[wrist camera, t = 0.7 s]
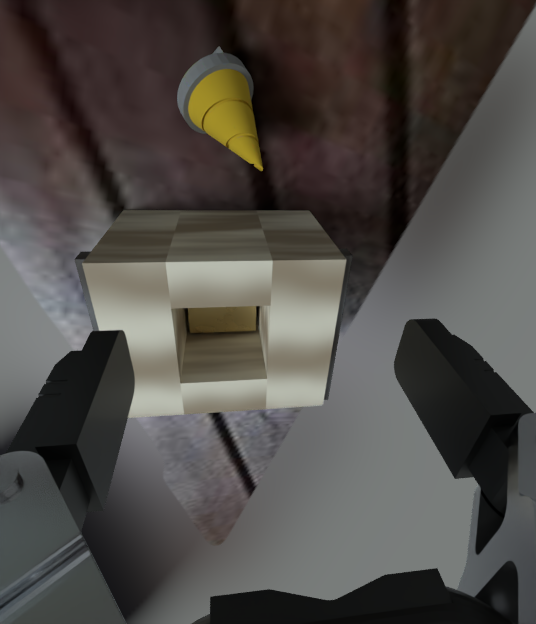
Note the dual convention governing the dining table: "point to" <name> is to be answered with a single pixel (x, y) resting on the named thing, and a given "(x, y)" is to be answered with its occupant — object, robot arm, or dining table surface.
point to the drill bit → (221, 103)
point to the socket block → (220, 293)
